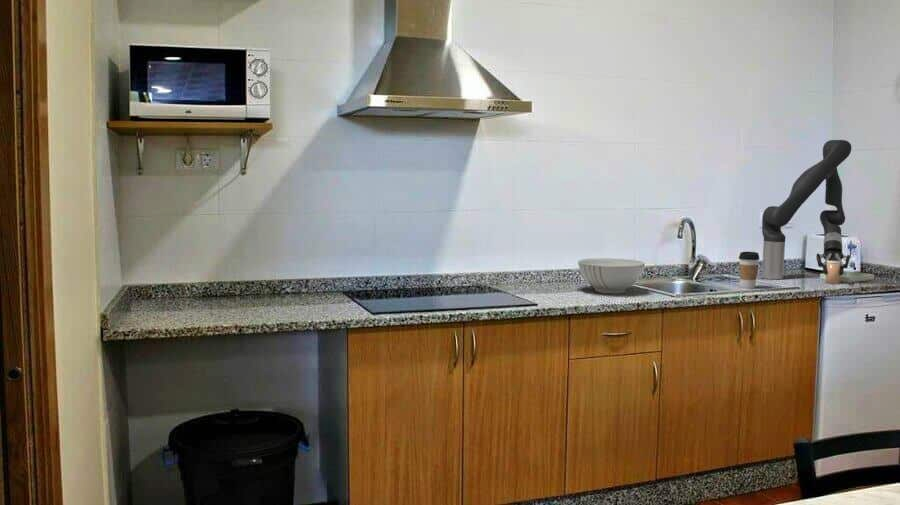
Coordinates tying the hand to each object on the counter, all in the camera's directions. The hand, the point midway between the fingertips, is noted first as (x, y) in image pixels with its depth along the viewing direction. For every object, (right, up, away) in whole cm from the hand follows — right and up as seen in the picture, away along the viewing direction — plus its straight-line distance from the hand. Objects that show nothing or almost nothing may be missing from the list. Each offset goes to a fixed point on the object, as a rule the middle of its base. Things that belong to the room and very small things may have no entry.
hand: (833, 273), depth 344 cm
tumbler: (+1, -4, +2) cm, 5 cm away
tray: (+13, -3, +14) cm, 20 cm away
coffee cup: (-43, -6, -12) cm, 45 cm away
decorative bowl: (-104, -7, -25) cm, 107 cm away
